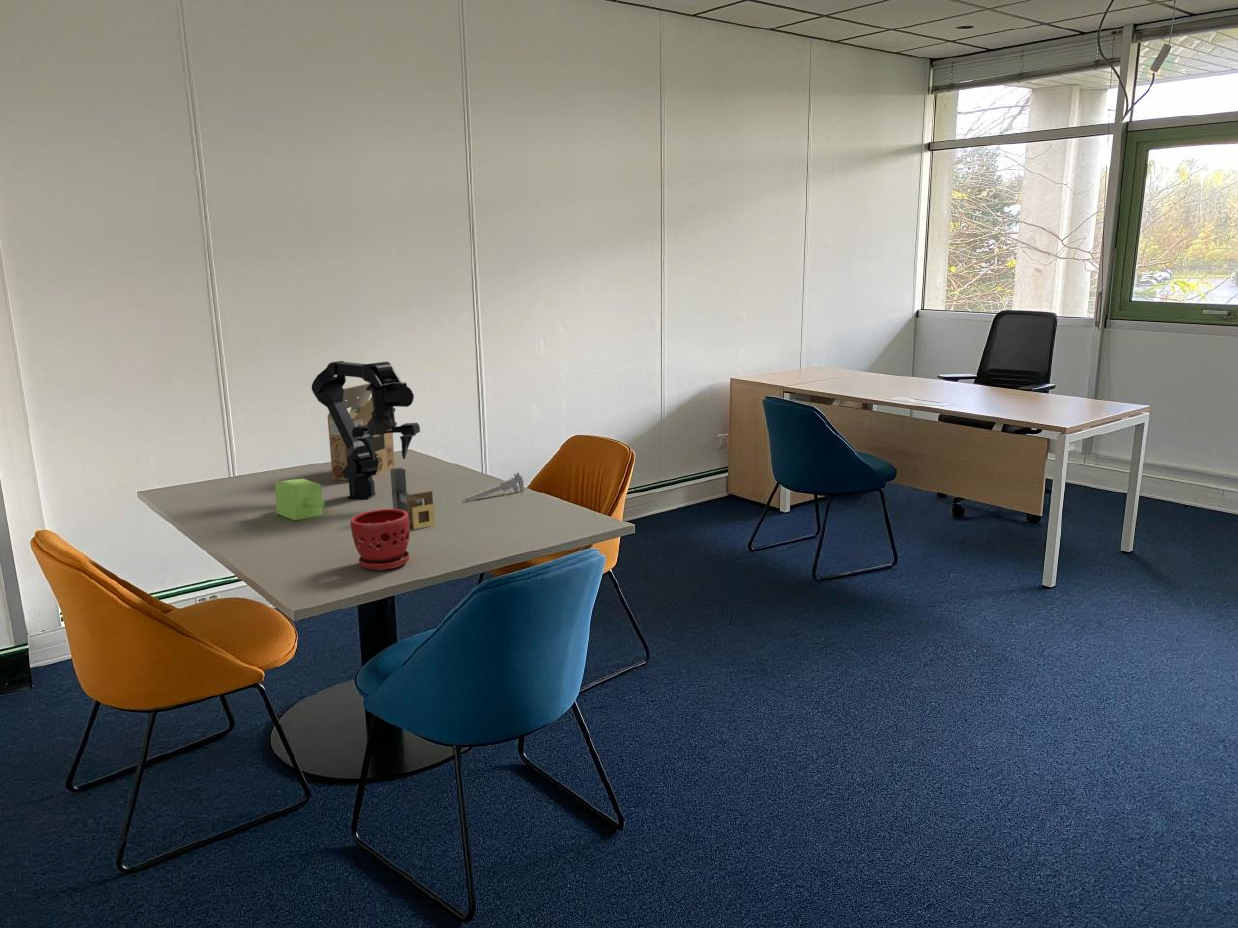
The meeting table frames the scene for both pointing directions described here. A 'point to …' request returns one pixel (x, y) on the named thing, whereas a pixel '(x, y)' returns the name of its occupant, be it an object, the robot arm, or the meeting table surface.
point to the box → (360, 416)
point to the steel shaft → (400, 489)
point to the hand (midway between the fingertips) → (388, 459)
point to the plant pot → (381, 538)
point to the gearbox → (298, 499)
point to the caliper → (499, 488)
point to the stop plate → (411, 502)
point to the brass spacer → (415, 516)
